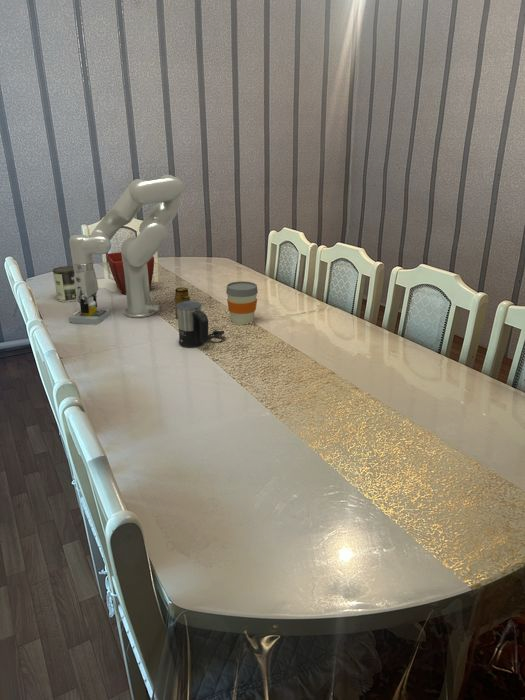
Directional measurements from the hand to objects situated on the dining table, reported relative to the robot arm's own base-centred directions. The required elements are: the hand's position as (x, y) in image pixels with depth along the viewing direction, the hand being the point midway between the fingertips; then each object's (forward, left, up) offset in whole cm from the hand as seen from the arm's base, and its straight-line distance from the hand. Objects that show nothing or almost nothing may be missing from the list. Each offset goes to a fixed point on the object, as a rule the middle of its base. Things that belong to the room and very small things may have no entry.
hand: (89, 309), depth 212 cm
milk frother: (-52, +14, -4) cm, 54 cm away
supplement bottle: (0, 0, -4) cm, 4 cm away
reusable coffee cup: (-62, -10, -4) cm, 63 cm away
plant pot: (0, -42, -4) cm, 42 cm away
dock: (0, 0, -4) cm, 4 cm away
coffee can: (+23, -23, -4) cm, 33 cm away
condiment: (-37, -10, -4) cm, 38 cm away
